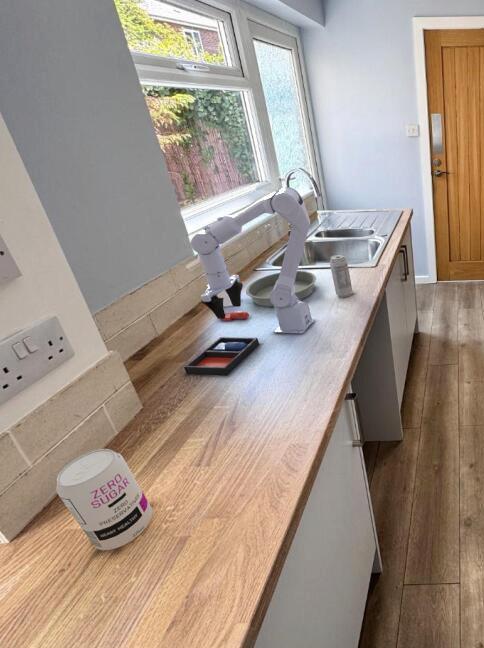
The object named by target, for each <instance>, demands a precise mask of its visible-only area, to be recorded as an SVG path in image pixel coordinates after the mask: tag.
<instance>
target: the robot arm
mask: <svg viewBox="0 0 484 648" xmlns="http://www.w3.org/2000/svg"><path fill="white" fill-rule="evenodd" d="M275 213H276V214H278V215H279V216H280V217H282V218H283V219H285V220H286V221H287V222H288V224H289V225H290V227H291V229H290V232H289V237H288V240H287V244H286V247H285V248H286V249H285V253H284V256H283V259H282V264H281V267H280V271H279V273H280V275H279V278H278V280H277V281H276V283H275V286H274V289H273V291H272V292H271V294H270V301H271V303H272V304H273V305H274V306H273V308H274V311H275V315H276V319H277V323H278V327H277V328H275V330H274V333H275V334H304V333H305V332H306V331H307V329H308V328H309V327H310V326H311V325H312V324H313V323H314V322H315V320H314V319H313V318H312V314H311V313H312V312H311V310H310V305H309V304H308V303H307V302H306V301H301V300H298V297H297V296H296V295H295V294H294V292H295V290H296V284H295V278H296V274H297V271H299V266H300V262H301V259H302V255H303V252H304V248H305V245H306V241H307V237H308V233H309V230H310V226H311V219H310V215H309V213H308V211H307V208H306V205H305V199H304V198H303V197H302V196H301V194H300V193H299V192H298V191H297V189H296V188H293V187H289V186H285V187H281V188H279V190H278V192H277V190H276V191H274V192H272V193H269V194H268V195H266V196H263V197H262V198H260V199H258V200H257V201H255V202H254V203H253V204H251V205H249V206H248V207H247V208H245V209H243V210H242V211H240V212H239V213H237V214H236V215H230V214H227V215H220V216H219V217H218V218H216V220H217V221H215V222H213V223H212V224H210V225H205V226H204V227H203V228H202V229H201V230H200V231H198V233H196V234H194V236H193V237H192V238H191V240H190V247H191V248H192V250H193V251H194V252H196V253H197V256H198V259H199V261H200V264H201V267H202V270H203V273H204V275H205V276H204V277H205V278H206V281H207V285H206V288H207V289H206V290H205V291H204V292H203V294H201V295H200V298H201V303H202V304H203V305H205V306H206V307H207V308H209V310H210V311H211V312H212V313H213V314H214V316H215V317H216V318H217V320H221V319H224V318H225V313H226V312H225V309H224V308H225V307H224V306H223V300H224V298H218V297H217V295H218V294H219V293H221V292H222V291H224V290H225V291H226V292H227V294H228V296H229V298H230V300H231V303H232V307H233V308H234V307H235V308H236V307H237V308H240V307H241V305H242V299H241V298H242V297H241V296H242V289H243V287H244V284H243V282H240V281H241V279H240V276H239V274H231V275H230V274H229V271H228V268H227V265H226V262H225V259H224V255H223V253H222V250H221V247H220V245H223V244H225V243H227V242H228V241H229V240H231V239H233V238H235V237H236V236H238V235H239V234H241V233H242V231H243V226H245V225H247V224H248V223H250V222H251V221H253V220H256V219H257V218H259V217H261V216H262V215H264V214H269V215H274V214H275Z"/></svg>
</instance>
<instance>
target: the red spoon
mask: <svg viewBox="0 0 484 648" xmlns="http://www.w3.org/2000/svg"><path fill="white" fill-rule="evenodd" d="M249 317H250V313H249V312H247V311H232V312H225V318H224V319H220V321H224V322H225V321H226V322H227V321H229V322H231V321H233V320H247V319H249Z"/></svg>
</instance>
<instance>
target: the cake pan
mask: <svg viewBox="0 0 484 648" xmlns="http://www.w3.org/2000/svg"><path fill="white" fill-rule="evenodd" d="M279 275H280V272H276V273H272V274H269V275H265V276H262V277H260V278H258V279H256V280H255V281H252V282H251V283H249V284H248V286H247V287H246V288H245V293H246V295H247V296H248V297H250V298H251V299H252V300H253V302H254V303H255V304H256V305H258V306H261V307H274V305H273V304H272V303H271V301H270V294H271V292H272V291H273V289H274V286H275V283H276V281H277V280H278V278H279ZM316 281H317V277H316V275H315V274H314V273H313V272H310V271H305V270H297V274H296V278H295V284H296V290H295V292H294V294H295V295H296V296H297V297H298V300H299V301H301V300H303V299H305V298H308V297H309V296H310V295H311V294H312V293H313V292H314V285H315V283H316Z"/></svg>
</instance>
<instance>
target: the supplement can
mask: <svg viewBox="0 0 484 648" xmlns="http://www.w3.org/2000/svg"><path fill="white" fill-rule="evenodd" d="M56 482H57V483H56V486H55V492H56V493H57V495H58V497H59V498H60V500H61V501H62V502H63V504H64V505H65V507H66V508H67V510H68V511H69V512H70V514H71V515H72V517H73V518H74V519H75V521H76V522H77V524H78V526H79V527H80V528H81V529H82V531H83V533H84V534H85V535H86V537H87V539H89V541H90V543H91V544H92V545H93V547H94V548H95V549H96V550H99V551H110V550H111V551H112V550H116V549H118V548H121V547H123V546H126V545H128V544H129V543H131V542H132V541H134V540H136V539H137V538H138V537H139V536H140V535H142V533H143V532H144V531H145V529H146V528H147V527H148V525H149V524H150V523H151V520H152V519H153V515H154V514H153V513H154V512H153V511H154V509H153V508H152V506H151V504H150V502H149V500H148V499H147V497H146V495H145V494H144V492H143V490H142V487H140V485H139V483H138V481H137V479H136V478H135V476H134V474H133V472H132V471H131V469H130V467H129V465H128V463H127V461H126V460H125V458H124V457H123V456H122V454H121V453H119V452H115V451H114V450H112V449H109V448H100V449H95V450H92V451H89V452H87V453H84V454H83V455H80V456H78V457H77V458H75V459H73V460H72V461H70V462H69V463H68V464H67V465H66V466H64V467H63V468H62V469H61V471H60V472H59V473H58V474H57V478H56Z"/></svg>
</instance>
